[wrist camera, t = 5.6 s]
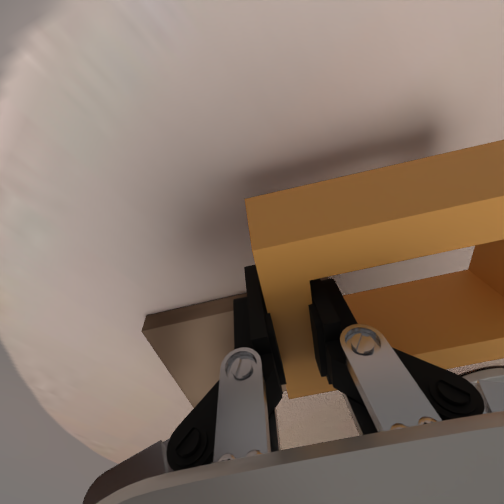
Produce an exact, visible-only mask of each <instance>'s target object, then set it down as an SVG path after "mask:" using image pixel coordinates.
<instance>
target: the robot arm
mask: <svg viewBox="0 0 504 504" xmlns="http://www.w3.org/2000/svg"><path fill="white" fill-rule="evenodd" d="M244 269H245V280H246V291H247V296H246V297H242V298H237V299H234V300H233V316H234V350H233V351H231V352H230V353H229V354H228V355H227V356H226V357H225V358H224V360H223V361H222V364H221V368H220V379H219V380H218V382H217V383H216V384H215V385H214V386H213V387H212V388H211V389H210V391H209V392H208V393H207V394H206V395H205V396H204V397H203V399H202V400H201V401H200V402H199V403H198V404H197V405H196V407H195V408H194V409H193V410H192V411H191V412H190V413H189V414H188V416H187V417H186V418H185V419H184V420H183V421H182V422H181V424H180V425H179V426H178V427H177V428H176V429H175V431H174V432H173V434H172V435H171V437H170V439H168V440H166V441H164V442H162V441H161V440H160V441H158V442H157V443H155V444H153V445H151V446H150V447H148V448H146V449H144V450H143V451H141V452H139V453H137V454H136V455H134V456H132V457H130V458H128V459H127V460H125V461H123V462H121V463H120V464H118V465H116V466H115V467H113V468H111V469H109V470H107V471H106V472H104V473H103V474H102V475H100V476H99V477H98V478H97V479H96V480H95V481H94V482H93V484H92V485H91V486H90V487H89V489H88V491H87V493H86V495H85V497H84V501H83V504H504V368H493V369H486V370H481V371H477V372H474V373H471V374H467V375H465V376H462V377H461V376H459V375H457V374H455V373H452V372H450V371H448V370H445V369H443V368H440V367H438V366H436V365H433V364H431V363H428V362H426V361H424V360H421V359H419V358H417V357H414V356H412V355H409V354H407V353H405V352H402V351H400V350H397V349H395V348H393V347H391V346H390V344H389V343H388V341H387V340H386V338H385V337H384V336H383V334H382V333H381V332H380V331H379V330H377V329H375V328H374V327H372V326H369V325H365V324H358V323H357V321H356V319H355V317H354V316H353V314H352V312H351V310H350V308H349V306H348V305H347V303H346V301H345V299H344V297H343V295H342V294H341V292H340V290H339V288H338V286H337V284H336V283H335V281H334V279H332V278H331V279H326V280H320V278H319V279H314V280H310V289H311V297H312V304H310V305H308V306H309V314H310V322H311V329H312V337H313V345H314V353H315V359H316V363H317V366H318V369H319V372H320V375H321V377H325V376H326V377H327V380H328V383H329V385H330V384H332V385H333V387H334V388H335V389H337V390H339V391H340V392H342V393H343V396H344V399H345V401H346V404H347V406H348V409H349V411H350V413H351V416H352V418H353V420H354V423H355V425H356V427H357V430H358V432H359V434H360V436H356V437H350V438H345V439H339V440H334V441H329V442H323V443H318V444H312V445H307V446H302V447H296V448H291V449H285V450H281V448H280V439H279V429H278V420H277V410H276V406H277V405H278V403H279V402H280V400H281V399H282V394H283V391H282V386H281V385H285V384H286V378H285V373H284V368H283V364H282V360H281V355H280V351H279V347H278V343H277V339H276V335H275V331H274V327H273V323H272V319H271V314H270V313H267V309H266V305H265V301H264V297H263V293H262V288H261V284H260V280H259V276H258V272H257V268H256V265H252V266H247V267H244Z"/></svg>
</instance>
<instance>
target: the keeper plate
mask: <svg viewBox="0 0 504 504" xmlns="http://www.w3.org/2000/svg"><path fill="white" fill-rule="evenodd" d="M326 279H328V278H327V277H323V278H320V280H326ZM246 296H247V293H245V294H240V295H236V296H231V297H227V298H222V299H218V300H214V301H209V302H205V303H200V304H196V305H191V306H187V307H183V308H178V309H174V310H169V311H165V312H160V313H156V314H152V315H147V316H146V318H145V322H144V325H143V328H142V333H143V334H144V336H145V337H146V339H147V340H148V342H149V343H150V344H151V346H152V347H153V349H154V350H155V352H156V353H157V355H158V356H159V358H160V359H161V361H162V362H163V363H164V365H165V366H166V368H167V369H168V371H169V372H170V374H171V375H172V377H173V378H174V380H175V381H176V383H177V384H178V385H179V387H180V388H181V390H182V391H183V393H184V394H185V396H186V397H187V399H188V400H189V402H190V403H191V404H192V406H193V407H194V408H195V407H196V405H197V404H198V403H199V402H200V401H201V400H202V399H203V397H204V396H205V395H206V394H207V393H208V392H209V391H210V389H211V388H212V387H213V386H214V385H215V384H216V383H217V382H218V380H219V379H220V368H221V364H222V361H223V360H224V358H225V357H226V356H227V355H228V354H229V353H230V352H231V351H233V350H234V316H233V300H234V299H237V298H242V297H246ZM281 386H282V391H287V389H286V385H281Z"/></svg>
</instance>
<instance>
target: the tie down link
mask: <svg viewBox="0 0 504 504" xmlns="http://www.w3.org/2000/svg"><path fill="white" fill-rule="evenodd" d="M245 205H246V212H247V219H248V226H249V233H250V240H251V247H252V252H253V256H254V260H255V264H256V268H257V272H258V276H259V280H260V284H261V288H262V293H263V297H264V301H265V305H266V309H267V313H270V314H271V319H272V323H273V327H274V331H275V335H276V339H277V343H278V347H279V351H280V355H281V360H282V364H283V368H284V373H285V378H286V384H285V385H286V389H287V393H288V397H289V399H293V398H298V397H303V396H308V395H314V394H319V393H324V392H329V391H335V390H337V389H335V388H334V387H333V385H332V384H330V385H329V383H328V380H327V377H326V376H325V377H321V375H320V372H319V369H318V366H317V363H316V359H315V353H314V345H313V337H312V329H311V322H310V314H309V306H308V305H310V304H312V297H311V289H310V280H314V279H319V278H323V277H328V276H333V275H338V274H342V273H347V272H352V271H357V270H361V269H366V268H371V267H375V266H380V265H385V264H390V263H394V262H399V261H404V260H408V259H413V258H418V257H423V256H427V255H432V254H437V253H442V252H446V251H451V250H456V249H460V248H465V247H470V246H475V248H474V252H473V255H472V258H471V262H470V265H469V268H468V270H464V271H459V272H454V273H449V274H444V275H440V276H435V277H430V278H425V279H420V280H415V281H411V282H406V283H401V284H396V285H391V286H387V287H382V288H377V289H372V290H367V291H363V292H358V293H353V294H348V295H343V297H344V299H345V301H346V303H347V305H348V306H349V308H350V310H351V312H352V314H353V316H354V317H355V319H356V321H357V323H358V324H365V325H369V326H372V327H374V328H375V329H377V330H379V331H380V332H381V333H382V334H383V336H384V337H385V338H386V340H387V341H388V343H389V344H390V346H391V347H393V348H395V349H397V350H400V351H402V352H405V353H407V354H409V355H412V356H414V357H417V358H419V359H421V360H424V361H426V362H428V363H431V364H433V365H436V366H438V367H440V368H443V369H450V368H455V367H460V366H465V365H470V364H476V363H481V362H486V361H491V360H497V359H502V358H504V140H500V141H496V142H492V143H487V144H483V145H478V146H474V147H470V148H465V149H461V150H457V151H452V152H448V153H443V154H439V155H435V156H430V157H426V158H422V159H417V160H413V161H408V162H404V163H400V164H395V165H391V166H387V167H382V168H378V169H374V170H369V171H365V172H360V173H356V174H352V175H347V176H343V177H339V178H334V179H330V180H325V181H321V182H317V183H312V184H308V185H304V186H299V187H295V188H290V189H286V190H282V191H277V192H273V193H269V194H264V195H260V196H256V197H251V198H247V199H245Z"/></svg>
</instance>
